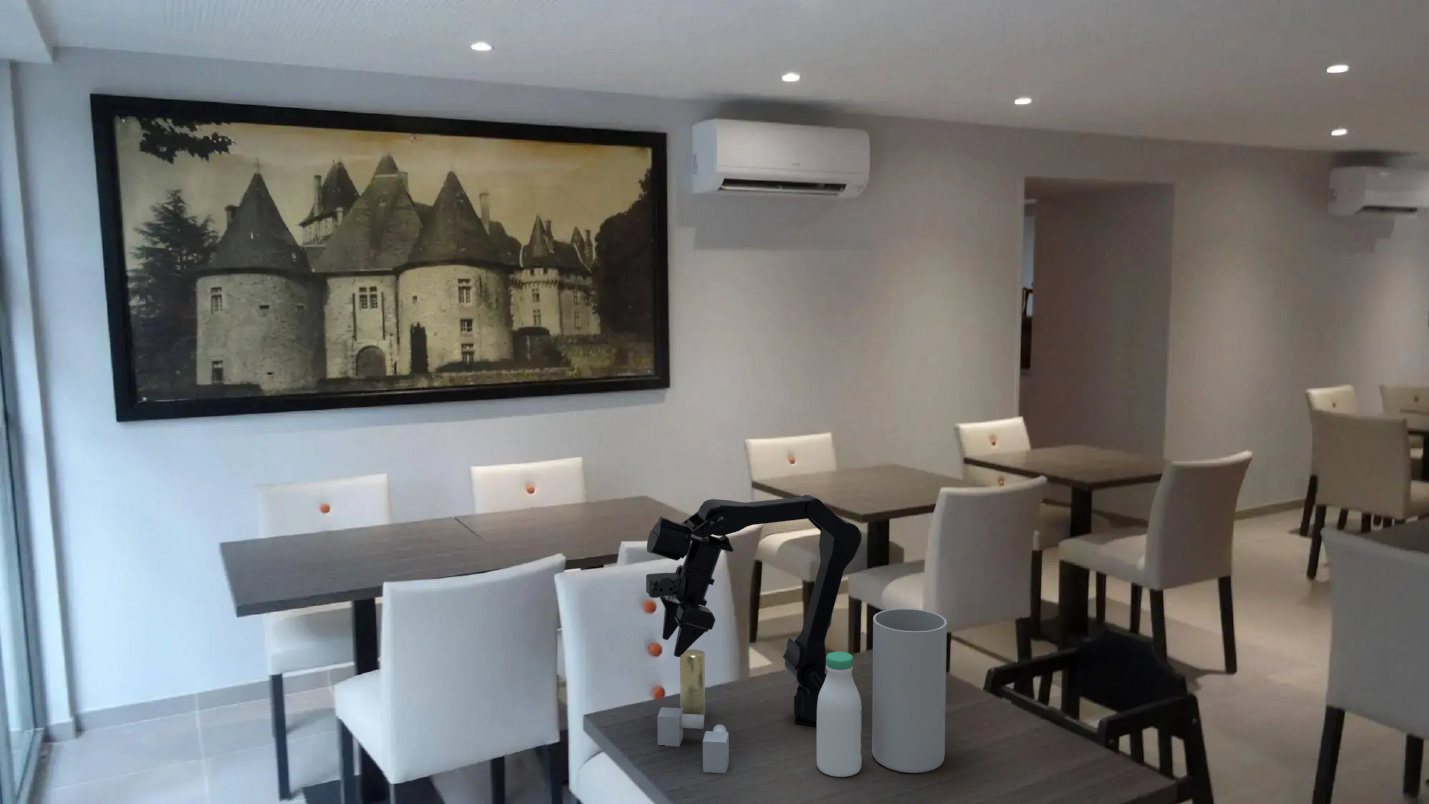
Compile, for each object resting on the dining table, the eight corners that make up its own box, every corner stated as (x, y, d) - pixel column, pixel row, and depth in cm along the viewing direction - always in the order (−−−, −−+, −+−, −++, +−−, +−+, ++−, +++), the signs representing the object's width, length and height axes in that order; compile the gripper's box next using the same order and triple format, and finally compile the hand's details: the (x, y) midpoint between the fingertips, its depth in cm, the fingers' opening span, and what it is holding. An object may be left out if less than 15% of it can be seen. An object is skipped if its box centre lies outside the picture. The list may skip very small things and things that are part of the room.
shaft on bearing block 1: (657, 745, 177) (657, 716, 176) (661, 735, 181) (661, 707, 180) (701, 747, 176) (701, 718, 175) (704, 737, 180) (704, 709, 179)
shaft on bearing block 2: (726, 773, 166) (726, 742, 166) (703, 771, 167) (702, 741, 166) (731, 752, 174) (730, 723, 173) (708, 751, 174) (708, 722, 174)
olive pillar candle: (708, 712, 191) (707, 650, 190) (700, 722, 186) (700, 659, 185) (685, 709, 192) (684, 648, 191) (677, 719, 188) (676, 656, 187)
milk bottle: (860, 780, 163) (861, 665, 161) (814, 776, 165) (814, 662, 163) (862, 759, 171) (863, 648, 169) (818, 755, 172) (819, 646, 170)
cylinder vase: (902, 781, 163) (903, 636, 160) (857, 751, 174) (858, 615, 171) (959, 764, 169) (962, 624, 166) (913, 736, 180) (915, 604, 177)
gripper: (647, 543, 184) (620, 620, 184) (670, 568, 167) (640, 654, 167) (700, 558, 188) (674, 635, 188) (728, 585, 170) (699, 670, 170)
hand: (670, 647), depth 178 cm, fingers open, 9 cm apart
